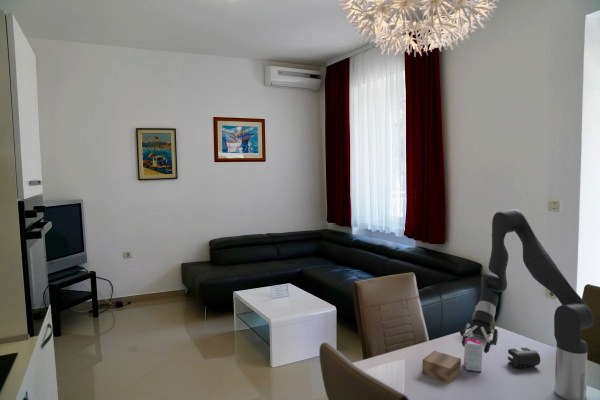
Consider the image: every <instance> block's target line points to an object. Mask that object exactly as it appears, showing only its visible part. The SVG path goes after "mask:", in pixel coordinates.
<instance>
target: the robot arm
mask: <svg viewBox="0 0 600 400" xmlns="http://www.w3.org/2000/svg"><path fill="white" fill-rule="evenodd" d="M491 220H492V221H491V253H490V256H489V257H490V258H489V262H488V270H489V272H485V273H484V274H482V276H481V278H480V279H481V280H480V282H481V286H480V287H481V292H480V296H479V297H480V298H479V300H478V303H477V304H476V305H477V307H476V311H475V310H474V311H475V314H474V317H473V321H472V320H471V323H469V322H467V321H463V323H462V324H461V327H460V330H459V334H460V336H461V337H462V339H461V344H462V347H463V348H465V338H467V339H470V338H471V337H473V336H475V337H480V338H485V340H486V342H485V345H484V349H483V352H484V353H485V354H488V353H489V352H490V349H491V346H496V345H497V344H498V343H497V342H498V338H499V330H498V329H497V328H495V329H494V330H493V329H491V326H492V323H493V319H494V320H495V315H496V308H497V306H498V302H499V296H498V294H496V293H495V292H497V293H503V292H505V291H506V289H507V287H508V280H507V279H508V278H507V267H508V264H509V263H508V262H509V252H508V250H507V248H506V245H505V237H506V235H507V234H508V233H513V232H514V233H515V234H516V235H517V237H518V238H519V241H520V242H521V244H522V245H521V246H522V260H523V263H524V266H525V267H526V269H527V271H529V273H530V275H531V276H532V277H533V279H534V280H535V282H537V283H539V284H540V285H541V286H543V287H544V288H545V289H547V290H548V291H549V292H551V294H553V295H554V296H555V297H556V298H557V300H558V301H559V303H560V304H561V305H559V306H557V308H556V309H555V310H554V315H553V326H554V327H553V333H554V339H555V341H556V350H555V366H554V367H555V368H554V369H555V372H554V373H555V374H554V376H555V377H554V393H555V395H557V396H558V397H560V398H563V399H565V400H586V397H587V385H588V384H587V383H588V370H587V364H588V348H589V347H588V343H587V342H586V340H583V339H582V337H581V332H582V330H586V329H589V328H591V327H592V326H593V325H594V324H595V316H594V314H593V311H592V310H591V308H590V307H589V305H588V304H587V303H586V302H585V301H584V300H583V299H582V297H581V296H580V294H578V293H577V292H576V290H575V289H574V288H573V287H572V285H571V283H569V281H568V280H567V278H566V277H565V276H564V274H563V273H562V272H561V270H560V269H559V268H558V266H557V264H556V263H555V261H554V260H553V259H552V257H551V256H550V254H549V253H548V252H547V251H546V249H545V248H544V247H543V245H542V243H541V242H540V240H539V239H538V238H537V236H536V234H535V233H534V231H533V229H532V227H531V225H530V224H529V222H528V220H527V218H526V217H525V215H524V213H522V211H520V210H519V209H517V208H511V209H506V210H500V211H497V212H496V213H494V214H493V216H492V219H491ZM493 291H494V292H493ZM469 328H470V329H469ZM467 329H468V330H467ZM491 332H492V334H490V333H491ZM488 334H490V335H492V339H491V340H490V338H489V335H488Z"/></svg>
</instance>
